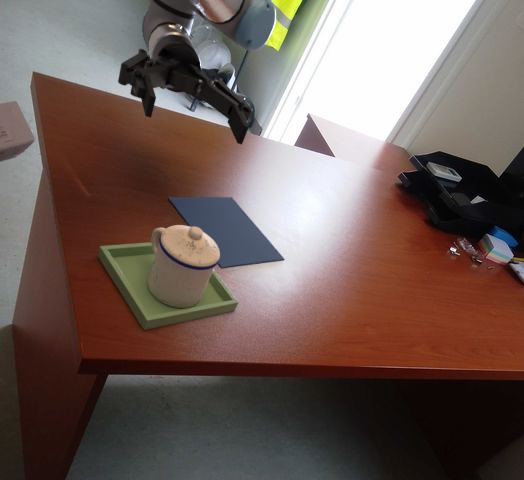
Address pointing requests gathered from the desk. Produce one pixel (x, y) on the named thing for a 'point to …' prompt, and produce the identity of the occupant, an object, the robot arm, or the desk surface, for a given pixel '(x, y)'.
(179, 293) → the teacup with lid
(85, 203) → the desk surface
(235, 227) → the mat
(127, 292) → the tray
